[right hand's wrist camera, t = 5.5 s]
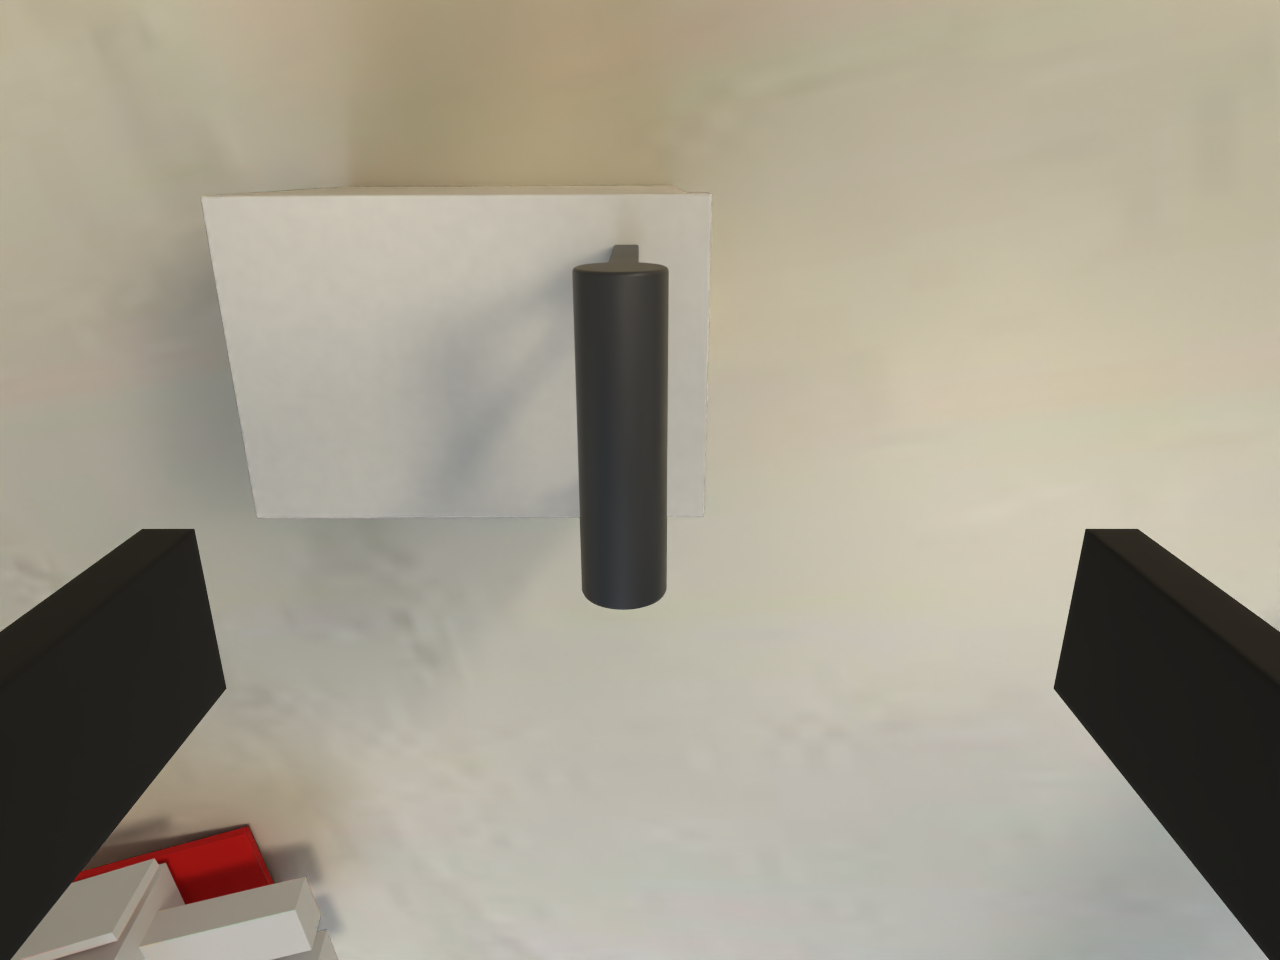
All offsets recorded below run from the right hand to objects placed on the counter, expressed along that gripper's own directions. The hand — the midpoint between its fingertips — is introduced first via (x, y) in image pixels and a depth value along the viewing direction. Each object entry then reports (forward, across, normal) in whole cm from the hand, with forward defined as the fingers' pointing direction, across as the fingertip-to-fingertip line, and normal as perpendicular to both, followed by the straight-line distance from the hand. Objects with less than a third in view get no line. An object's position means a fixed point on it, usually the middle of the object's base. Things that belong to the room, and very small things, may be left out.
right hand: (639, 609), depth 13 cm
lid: (+14, -5, +1) cm, 15 cm away
